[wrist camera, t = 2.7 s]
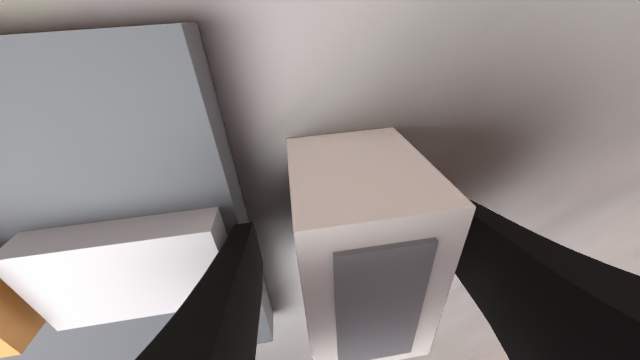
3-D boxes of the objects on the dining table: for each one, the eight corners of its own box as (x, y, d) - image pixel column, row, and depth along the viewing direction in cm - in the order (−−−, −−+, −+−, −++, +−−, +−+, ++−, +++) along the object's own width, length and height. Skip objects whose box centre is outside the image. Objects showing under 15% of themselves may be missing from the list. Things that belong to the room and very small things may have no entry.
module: (381, 249, 13) (430, 359, 9) (302, 261, 13) (315, 380, 9) (393, 127, 10) (480, 211, 6) (286, 138, 10) (293, 237, 5)
